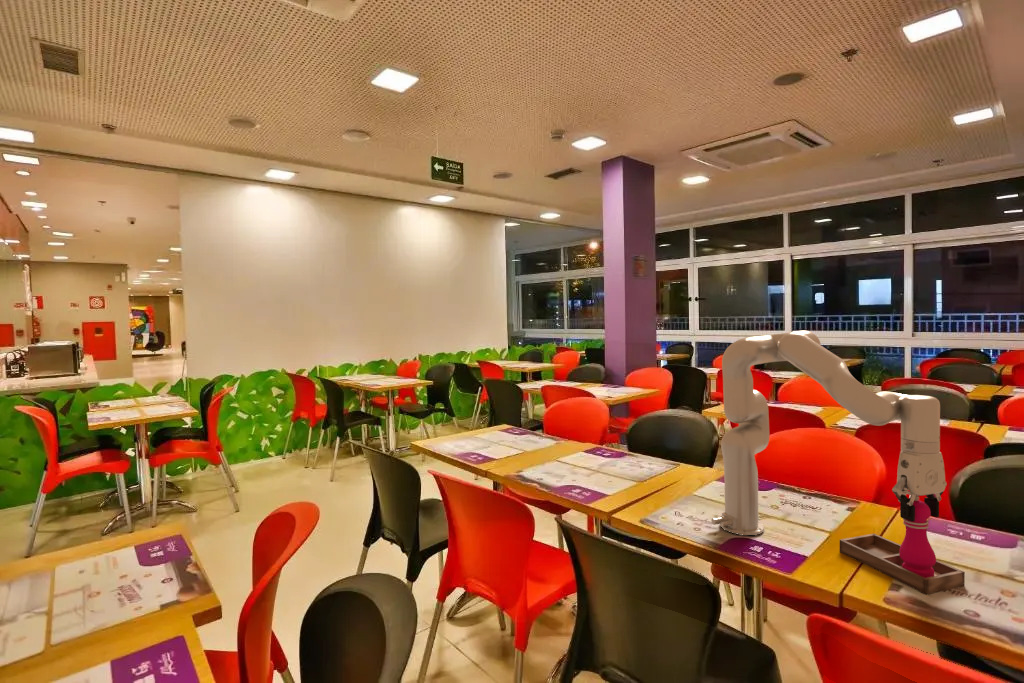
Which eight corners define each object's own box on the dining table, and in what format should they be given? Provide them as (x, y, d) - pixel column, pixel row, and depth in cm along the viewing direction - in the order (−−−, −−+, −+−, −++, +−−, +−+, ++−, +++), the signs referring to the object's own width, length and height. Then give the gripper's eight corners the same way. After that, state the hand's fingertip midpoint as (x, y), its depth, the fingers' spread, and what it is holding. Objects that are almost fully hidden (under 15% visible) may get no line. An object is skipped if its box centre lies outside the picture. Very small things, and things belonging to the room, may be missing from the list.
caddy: (926, 594, 122) (926, 580, 122) (839, 552, 145) (839, 539, 145) (964, 586, 125) (964, 571, 125) (873, 545, 148) (873, 533, 148)
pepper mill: (944, 580, 126) (940, 497, 126) (914, 581, 126) (910, 499, 126) (922, 566, 133) (918, 488, 133) (893, 568, 133) (889, 490, 133)
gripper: (907, 453, 122) (907, 528, 123) (963, 446, 127) (962, 518, 127) (877, 446, 129) (877, 516, 130) (931, 439, 134) (930, 507, 135)
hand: (919, 516), depth 129 cm, fingers open, 7 cm apart
